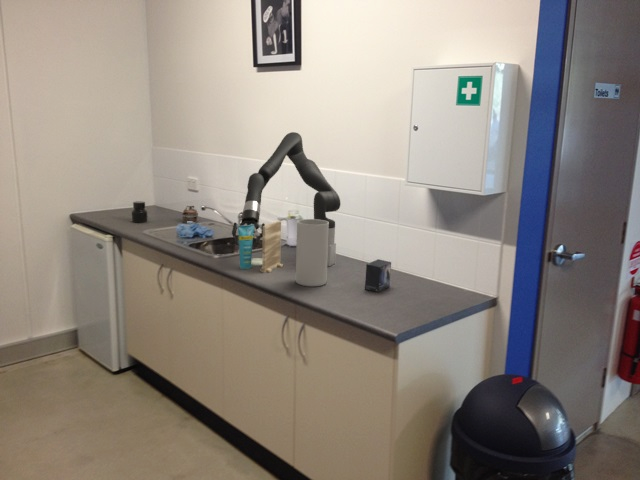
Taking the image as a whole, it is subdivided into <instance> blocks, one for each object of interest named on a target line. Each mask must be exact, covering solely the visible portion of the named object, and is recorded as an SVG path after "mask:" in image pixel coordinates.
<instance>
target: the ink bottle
mask: <svg viewBox="0 0 640 480" xmlns="http://www.w3.org/2000/svg"><path fill="white" fill-rule="evenodd" d="M132 205H133V210H132V211H131V222H132V223H134V222H135V223H136V224H142V223H143V224H144V223H147V222H148V211H147V209H146V202H145V201H141V200H140V201H139V200H138V201H137V200H136V201H133V202H132ZM135 223H134V224H135Z"/></svg>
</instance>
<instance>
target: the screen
mask: <svg viewBox="0 0 640 480" xmlns="http://www.w3.org/2000/svg"><path fill="white" fill-rule="evenodd" d="M281 242H282V221H279V220H278V221H276V222H272V223H269V224H265V226H263V237H262V246H261V247H262V251H261V253H262V257H261V258H262V266H261V267H260V268H259V272H262V273H264V274H265V273H269V274H270V273H272V272H273V271H272V270H273V269H276V268H283V267H284V264H283V263H281V254H282V253H281V251H282V249H281V246H282V245H281V244H282V243H281Z"/></svg>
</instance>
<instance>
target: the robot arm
mask: <svg viewBox="0 0 640 480" xmlns="http://www.w3.org/2000/svg"><path fill="white" fill-rule="evenodd" d="M303 145H304V144H303V138H302V135H301V134H300V133H298V132H294V131H292V132H289V133H286V135H284V137H283V138H282V140H281V142H280V143H279V144H278V145H277V147H276V149H275V150H274V151H273V153H272V154H271V156H270V157H269V158H268V159H267V161H266V162H264V163H263V164H262V166H261V167H260V168H259V169H258V171H257V172H254V173H252V174H251V175H250V176H249V178H248V182H247V192H246V196H245V201H244V206H243V209H242V216H241V222H240V223H237V222H234V223H233V226H232V229H231V230H232V231H231V235H232V237H233V238H234V239H235V240H234V243H235V245H236V246H239V233H238V226H245V225H254V233H253V235H255V237H256V239H255V246H257V247H258V246H259V245H261V244H260V243H261V239H263V226H265V225H266V224H265V223H264V222H263V223H261V224H260V215H261V205H262V204H261V203H262V193H263V190H264V189H265V188H266V186H267V184H268V183H269V181H270V180H271V179H272V178H273V177H274V176H275V175H276V174H277V173H278V172H279V171H280V168H281V167H282V165H283V162H284V160H285V159H286V157H287V158H288V159H289V160H290V161H291V162H292V164H293V165H294V167H295V168H296V171H297V172H298V174H299V176H300V178H301V180H302V181H303V182H304V184H305V185H307V186H308V187H310V188H311V189H312V190H315V191H316V193H315V194H314V196H313V219H318V220H325V221H328V222H329V229H328V255H327V267H331V266H333V265H335V264H336V253H337V252H336V251H337V243H335V240H336V239H335V238H336V237H335V234H336V230H335V229H336V221H335V220H334V219H330V218H328V217H327V216H326V215H327V213H333V212H337V211H338V210H340V207H341V199H340V196H339V194H338V193H337V191H336V190H335V189H334V187H333V186H332V185H331V184H330V183H329V182H328V180H327V179H326V177H325V176H324V175H323V173H322V172H321V170H320V168H319V167H318V165H317V164H316V162H315V161H313V159H308V157H307V156H306V154H305V151H304V148H303ZM259 229H260V230H261V233H260V232H259V231H258V230H259Z"/></svg>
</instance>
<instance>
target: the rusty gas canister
mask: <svg viewBox="0 0 640 480" xmlns="http://www.w3.org/2000/svg"><path fill="white" fill-rule="evenodd" d="M198 216H199V213H198V211H197V209H196V207H195V206H194V205H187V206H186V205H185V208H184V209H183V211H182V214H181V218H182V221H183V223H184V224H187V223H186V222H187V221H193V222H196V223H197V222H198Z"/></svg>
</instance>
